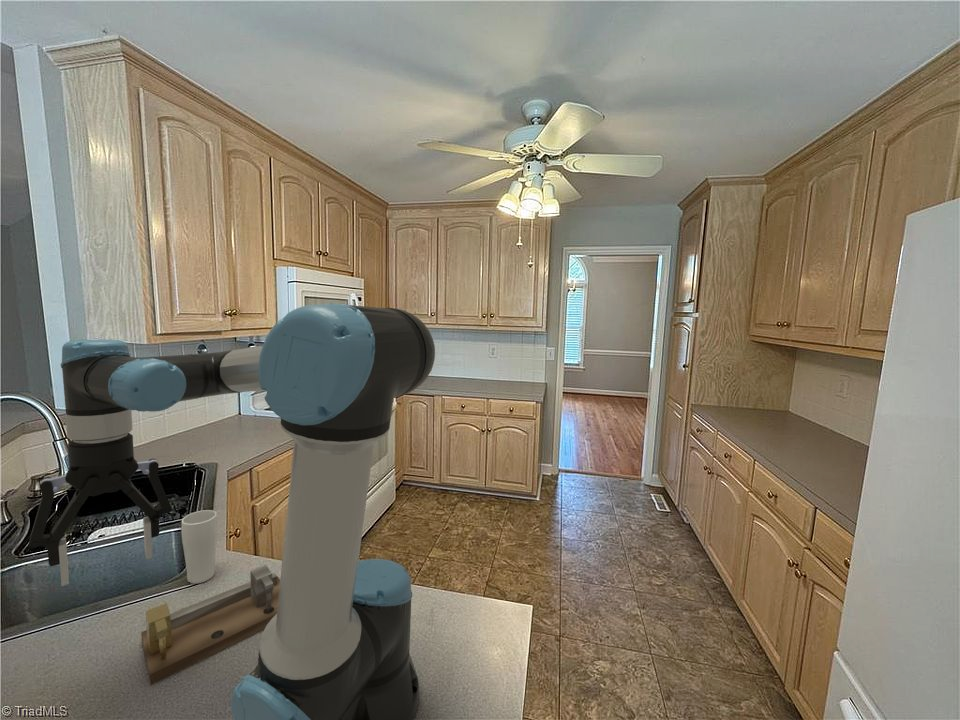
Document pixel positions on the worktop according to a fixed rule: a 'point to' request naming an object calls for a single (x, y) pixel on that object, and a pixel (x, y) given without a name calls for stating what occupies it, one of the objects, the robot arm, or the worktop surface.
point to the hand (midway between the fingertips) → (109, 567)
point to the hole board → (216, 624)
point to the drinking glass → (199, 545)
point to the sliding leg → (158, 630)
